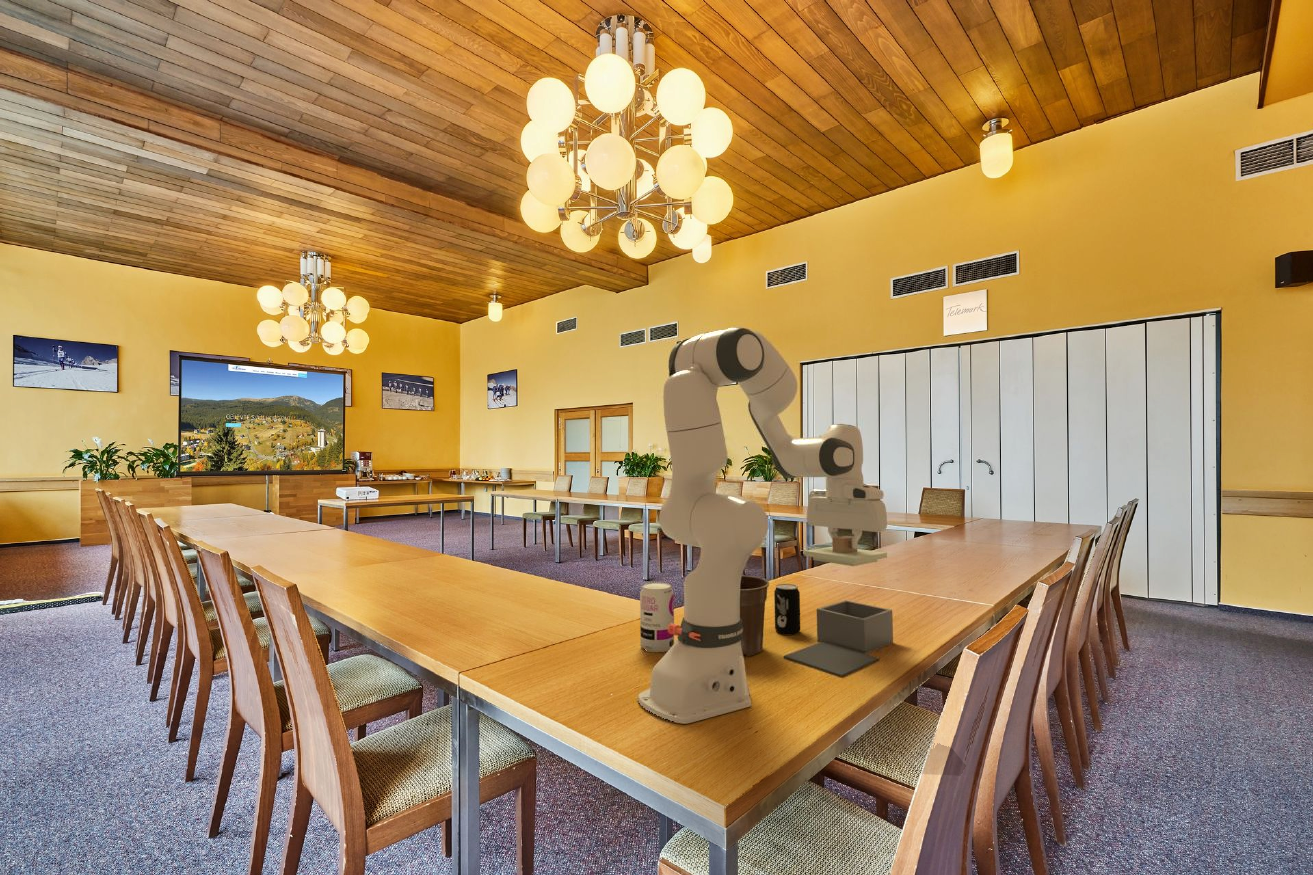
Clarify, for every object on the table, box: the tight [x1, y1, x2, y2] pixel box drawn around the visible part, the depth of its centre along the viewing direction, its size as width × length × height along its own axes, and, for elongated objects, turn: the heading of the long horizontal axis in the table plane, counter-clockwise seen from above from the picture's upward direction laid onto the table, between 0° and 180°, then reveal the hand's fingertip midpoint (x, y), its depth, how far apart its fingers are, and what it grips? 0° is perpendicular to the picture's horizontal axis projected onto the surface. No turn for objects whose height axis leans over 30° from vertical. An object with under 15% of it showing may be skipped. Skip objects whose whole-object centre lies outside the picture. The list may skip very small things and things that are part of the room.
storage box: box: [816, 599, 894, 655], centre depth 139 cm, size 13×13×8 cm
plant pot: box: [740, 575, 770, 657], centre depth 135 cm, size 16×16×16 cm
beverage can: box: [773, 583, 801, 636], centre depth 148 cm, size 7×7×12 cm
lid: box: [803, 535, 888, 567], centre depth 137 cm, size 14×14×6 cm
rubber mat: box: [783, 642, 880, 678], centre depth 127 cm, size 15×15×1 cm
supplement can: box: [639, 582, 675, 653], centre depth 136 cm, size 8×8×15 cm
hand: (844, 547), depth 137 cm, fingers closed on lid, 3 cm apart
